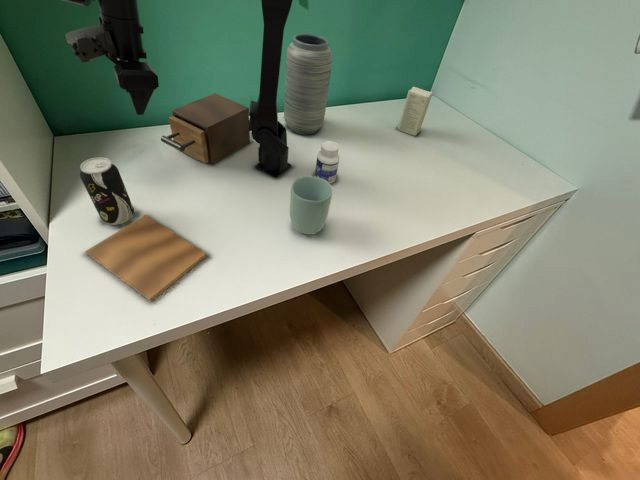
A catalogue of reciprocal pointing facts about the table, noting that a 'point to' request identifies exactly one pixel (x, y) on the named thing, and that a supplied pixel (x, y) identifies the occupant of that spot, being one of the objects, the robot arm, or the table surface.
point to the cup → (310, 204)
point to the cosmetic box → (414, 110)
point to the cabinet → (218, 124)
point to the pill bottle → (327, 161)
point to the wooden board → (147, 256)
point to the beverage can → (106, 190)
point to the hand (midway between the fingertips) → (134, 102)
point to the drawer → (188, 138)
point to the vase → (307, 82)
